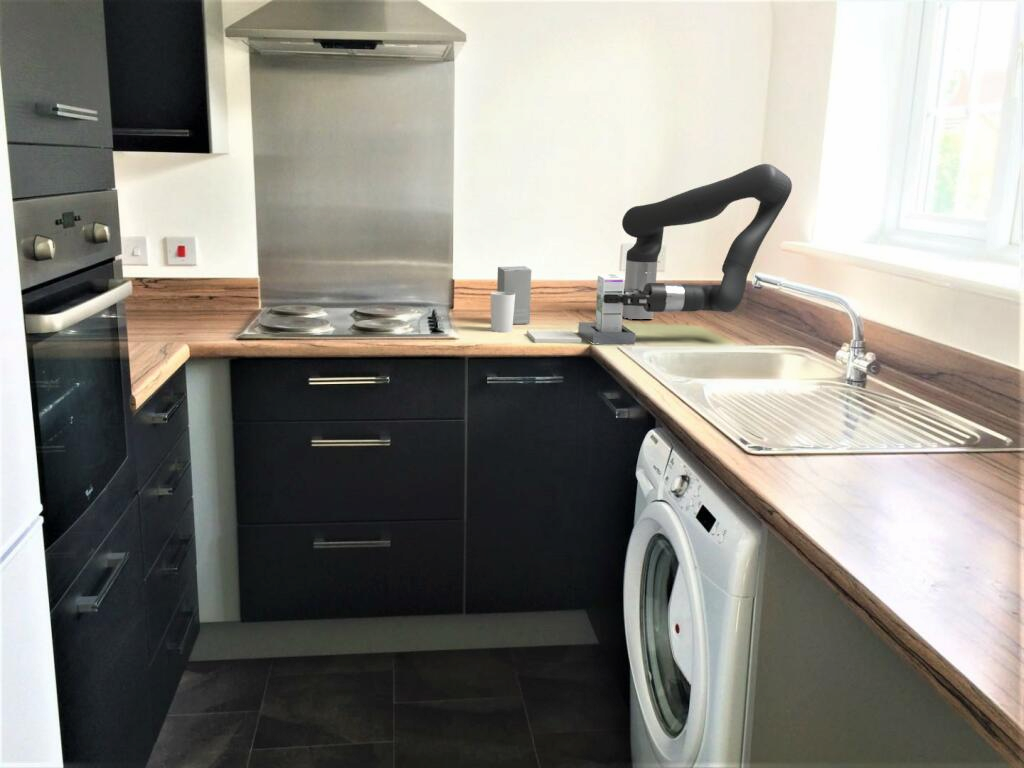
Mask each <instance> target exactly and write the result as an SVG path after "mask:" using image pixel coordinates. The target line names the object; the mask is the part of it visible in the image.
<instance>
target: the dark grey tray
mask: <svg viewBox="0 0 1024 768" xmlns="http://www.w3.org/2000/svg"><path fill="white" fill-rule="evenodd" d="M595 323H596V321H594V322H593V321H592V322H591V321H582V322H581V321H579V322H578V332H577V333H578V335H580V336H581V337H583V338H584V339H585V338H586V339H587V341H588V340H589V341H590V342H592V343H599V344H634V343H636V332H635V331H632V330H631V329H629V328H627V327H626V326H624V325H623V324H622V332H599V331H598V330H596V329H595ZM586 339H585V340H586ZM589 341H588V342H589ZM590 342H589V343H590ZM592 343H591V344H592Z"/></svg>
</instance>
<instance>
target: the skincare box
mask: <svg viewBox="0 0 1024 768" xmlns="http://www.w3.org/2000/svg"><path fill="white" fill-rule="evenodd" d="M532 272H533V271H532V268H529V267H527V266H525V265H522V266H521V265H520V266H497V282H496V283H497V284H496V285H497V287H496V288H497V289H496V290H497V291H496V292H511V293H515V303H514V315H513V325H524V324H525V325H527V324H530V322H531V294H532V293H531V292H532V290H531V289H532Z"/></svg>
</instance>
